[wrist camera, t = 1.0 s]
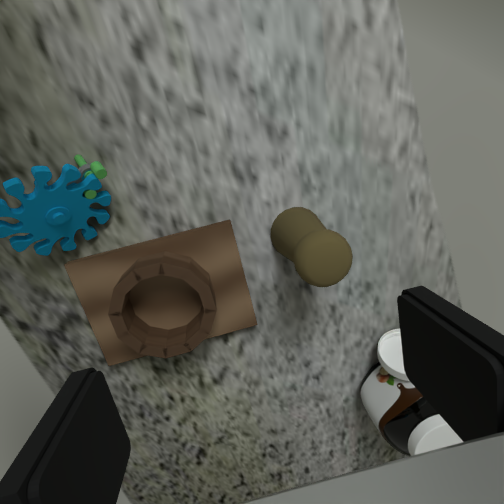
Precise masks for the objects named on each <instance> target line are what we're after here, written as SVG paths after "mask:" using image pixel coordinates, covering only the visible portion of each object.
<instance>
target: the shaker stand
mask: <svg viewBox="0 0 504 504" xmlns="http://www.w3.org/2000/svg"><path fill="white" fill-rule="evenodd" d="M64 266H65V268H66V271H67V273H68V275H69V277H70V280H71V282H72V284H73V286H74V289H75V291H76V293H77V295H78V298H79V300H80V302H81V304H82V307H83V309H84V311H85V313H86V316H87V318H88V320H89V322H90V325H91V327H92V329H93V332H94V334H95V336H96V338H97V341H98V343H99V345H100V347H101V350H102V352H103V354H104V356H105V359H106V361H107V363H108V365H109V366H111V365H115V364H118V363H122V362H126V361H129V360H133V359H136V358H140V357H144V356H147V355H149V356H155V357H160V358H169V357H173V356H176V355H180V354H183V353H187V352H191V351H192V350H193V349H194V348H195V347H197V346H198V345H199V344H200V343H201V342H202V341H203V340H205V339H208V338H212V337H215V336H219V335H222V334H226V333H230V332H233V331H237V330H240V329H244V328H248V327H251V326H255V325H257V321H256V317H255V313H254V310H253V306H252V302H251V298H250V294H249V290H248V286H247V283H246V279H245V275H244V271H243V267H242V263H241V259H240V256H239V252H238V248H237V244H236V240H235V236H234V233H233V229H232V225H231V221H230V220H226V221H222V222H218V223H215V224H211V225H207V226H203V227H199V228H195V229H191V230H188V231H184V232H180V233H176V234H172V235H168V236H164V237H161V238H157V239H153V240H149V241H145V242H141V243H137V244H134V245H130V246H126V247H122V248H118V249H114V250H111V251H107V252H103V253H99V254H95V255H91V256H87V257H84V258H80V259H76V260H72V261H68V262H67V263H66V264H65V265H64Z"/></svg>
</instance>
